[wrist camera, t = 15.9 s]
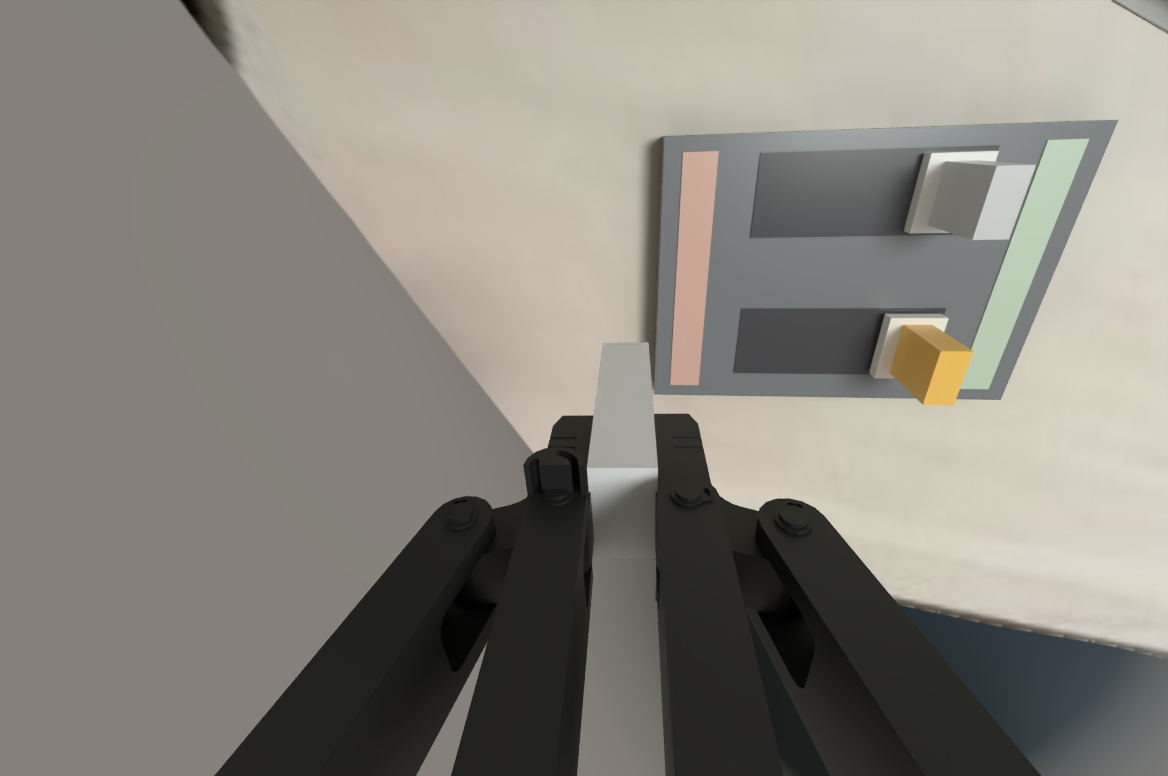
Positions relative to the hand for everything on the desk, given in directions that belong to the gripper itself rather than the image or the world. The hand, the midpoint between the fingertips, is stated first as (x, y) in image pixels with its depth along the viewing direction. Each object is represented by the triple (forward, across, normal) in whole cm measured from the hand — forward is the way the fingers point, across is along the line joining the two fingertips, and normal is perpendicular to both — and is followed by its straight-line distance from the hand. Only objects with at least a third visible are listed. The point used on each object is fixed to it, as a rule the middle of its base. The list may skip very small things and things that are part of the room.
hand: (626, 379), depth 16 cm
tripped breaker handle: (+22, +21, -9) cm, 32 cm away
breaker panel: (+25, +16, -4) cm, 30 cm away
